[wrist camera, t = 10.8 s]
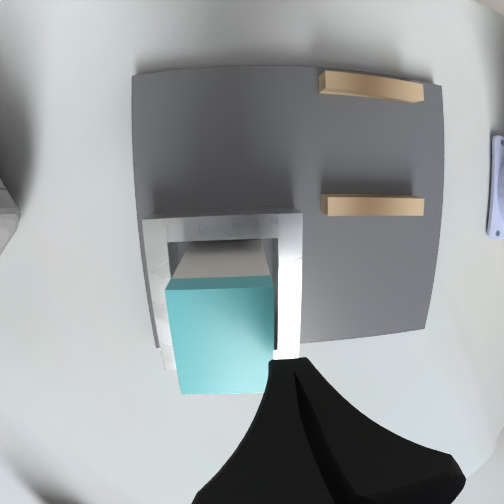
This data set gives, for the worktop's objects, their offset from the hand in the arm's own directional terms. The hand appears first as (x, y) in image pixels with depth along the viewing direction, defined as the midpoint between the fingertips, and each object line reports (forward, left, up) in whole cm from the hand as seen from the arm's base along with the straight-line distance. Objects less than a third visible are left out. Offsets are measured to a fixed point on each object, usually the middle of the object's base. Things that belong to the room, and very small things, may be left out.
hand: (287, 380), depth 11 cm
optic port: (+2, 0, -9) cm, 9 cm away
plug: (+2, 0, -9) cm, 9 cm away
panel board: (-2, -4, -10) cm, 11 cm away
